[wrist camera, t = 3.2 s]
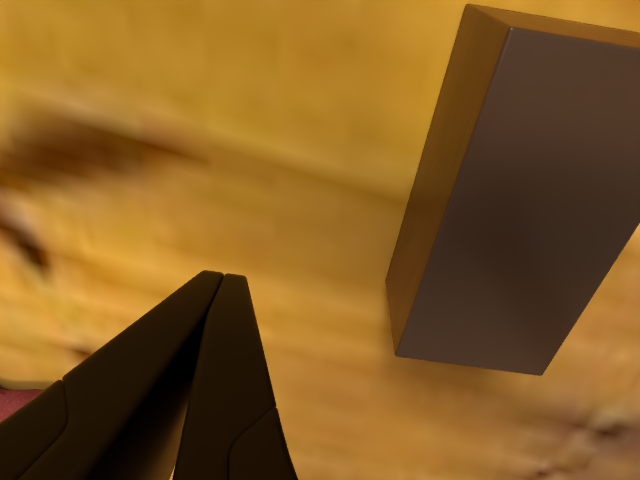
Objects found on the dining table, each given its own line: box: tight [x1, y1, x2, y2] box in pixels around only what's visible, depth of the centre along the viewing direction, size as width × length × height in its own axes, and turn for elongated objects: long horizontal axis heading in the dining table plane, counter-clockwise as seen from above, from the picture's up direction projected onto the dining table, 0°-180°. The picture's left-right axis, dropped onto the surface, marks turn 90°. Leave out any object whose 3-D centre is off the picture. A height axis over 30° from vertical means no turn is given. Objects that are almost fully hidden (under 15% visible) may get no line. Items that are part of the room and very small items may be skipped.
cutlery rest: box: [386, 4, 640, 376], centre depth 14 cm, size 10×5×4 cm, turn 172°
